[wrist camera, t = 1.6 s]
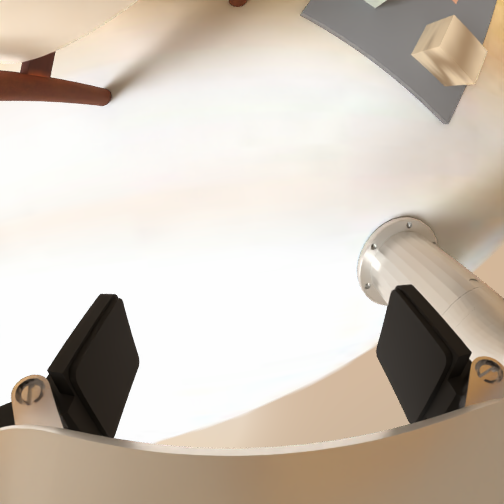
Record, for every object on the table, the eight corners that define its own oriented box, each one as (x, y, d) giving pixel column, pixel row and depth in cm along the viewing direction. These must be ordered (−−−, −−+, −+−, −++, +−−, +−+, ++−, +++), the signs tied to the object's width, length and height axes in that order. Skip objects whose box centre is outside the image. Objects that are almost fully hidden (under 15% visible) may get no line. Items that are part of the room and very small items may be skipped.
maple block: (458, 56, 25) (487, 51, 19) (444, 86, 27) (475, 84, 21) (426, 25, 23) (454, 14, 18) (410, 54, 25) (439, 46, 20)
